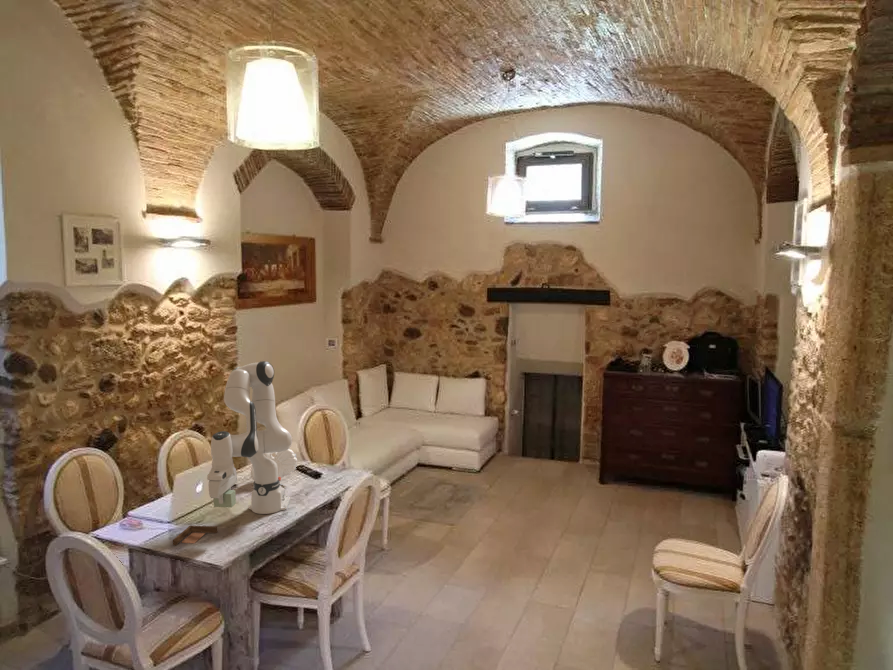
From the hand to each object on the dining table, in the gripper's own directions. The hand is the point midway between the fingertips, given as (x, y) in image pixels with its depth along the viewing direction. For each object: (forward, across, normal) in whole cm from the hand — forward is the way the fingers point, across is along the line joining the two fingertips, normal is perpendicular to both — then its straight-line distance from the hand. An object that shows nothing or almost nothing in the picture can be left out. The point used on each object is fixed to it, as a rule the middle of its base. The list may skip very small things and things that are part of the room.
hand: (224, 500), depth 281 cm
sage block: (+2, 0, 0) cm, 2 cm away
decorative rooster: (+18, -68, -4) cm, 70 cm away
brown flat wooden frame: (+17, +3, -13) cm, 21 cm away
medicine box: (+18, -92, -4) cm, 94 cm away
